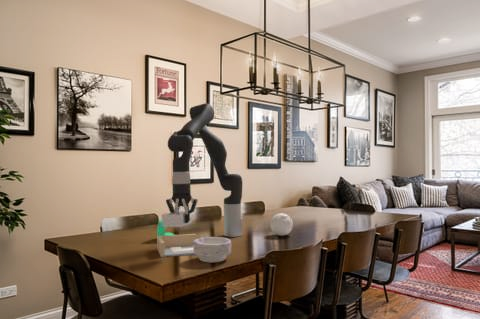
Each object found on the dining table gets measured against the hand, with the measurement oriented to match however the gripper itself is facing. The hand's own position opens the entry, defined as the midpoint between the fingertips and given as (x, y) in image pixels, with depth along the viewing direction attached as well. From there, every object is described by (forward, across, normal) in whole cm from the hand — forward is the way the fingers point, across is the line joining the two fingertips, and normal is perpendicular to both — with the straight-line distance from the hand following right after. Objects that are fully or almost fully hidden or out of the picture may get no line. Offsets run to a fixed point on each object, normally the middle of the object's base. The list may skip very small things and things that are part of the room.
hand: (182, 222), depth 157 cm
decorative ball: (+16, -39, -50) cm, 65 cm away
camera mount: (+15, +19, -30) cm, 38 cm away
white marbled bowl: (+14, -14, +6) cm, 21 cm away
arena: (+14, +4, -6) cm, 16 cm away
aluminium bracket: (0, +2, +2) cm, 3 cm away
